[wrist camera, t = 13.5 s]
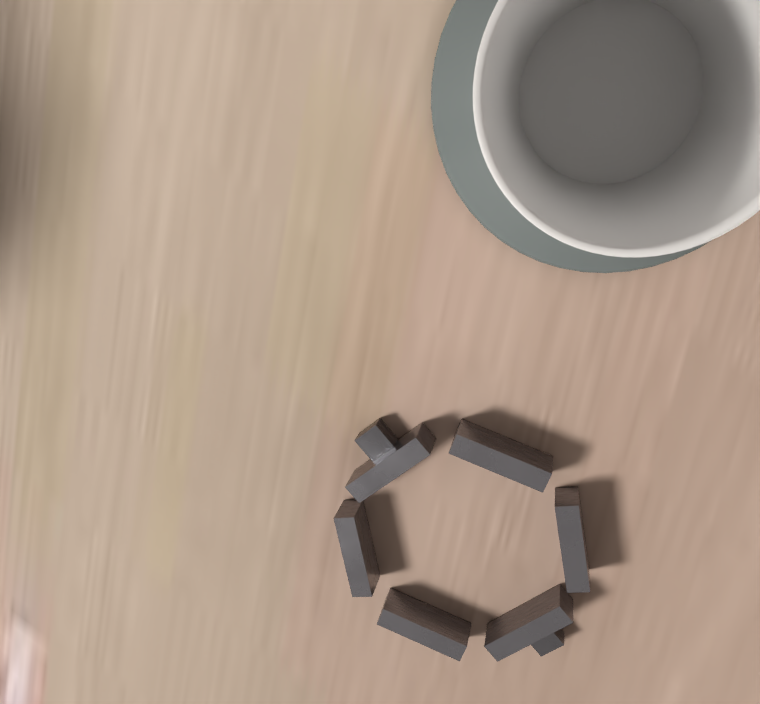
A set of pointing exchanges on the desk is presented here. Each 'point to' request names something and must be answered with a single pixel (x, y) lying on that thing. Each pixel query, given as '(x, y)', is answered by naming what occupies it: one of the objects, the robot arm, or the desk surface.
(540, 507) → the desk surface
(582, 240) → the cup
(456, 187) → the coaster
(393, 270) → the desk surface
